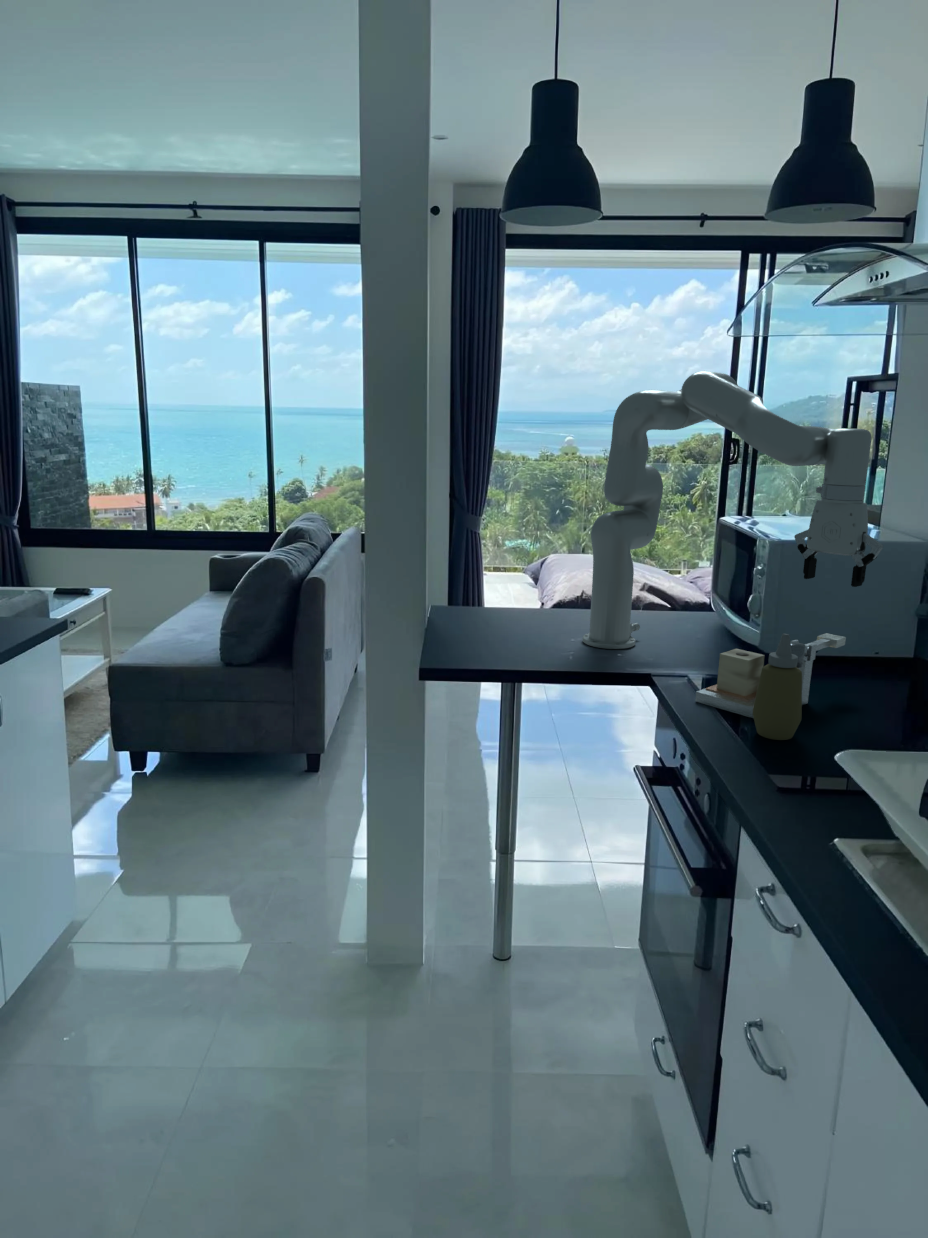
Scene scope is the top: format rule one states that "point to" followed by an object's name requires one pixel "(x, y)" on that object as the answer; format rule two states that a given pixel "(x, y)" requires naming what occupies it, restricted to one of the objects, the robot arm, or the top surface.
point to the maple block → (739, 671)
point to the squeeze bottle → (779, 694)
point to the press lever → (821, 642)
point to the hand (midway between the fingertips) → (832, 582)
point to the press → (746, 703)
